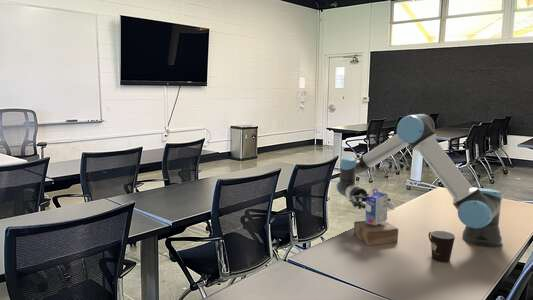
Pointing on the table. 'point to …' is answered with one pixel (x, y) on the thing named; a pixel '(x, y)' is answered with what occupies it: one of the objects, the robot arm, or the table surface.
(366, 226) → the walnut plinth
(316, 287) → the table surface
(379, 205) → the ink cartridge box
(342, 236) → the table surface
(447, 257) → the coffee mug
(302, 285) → the table surface
